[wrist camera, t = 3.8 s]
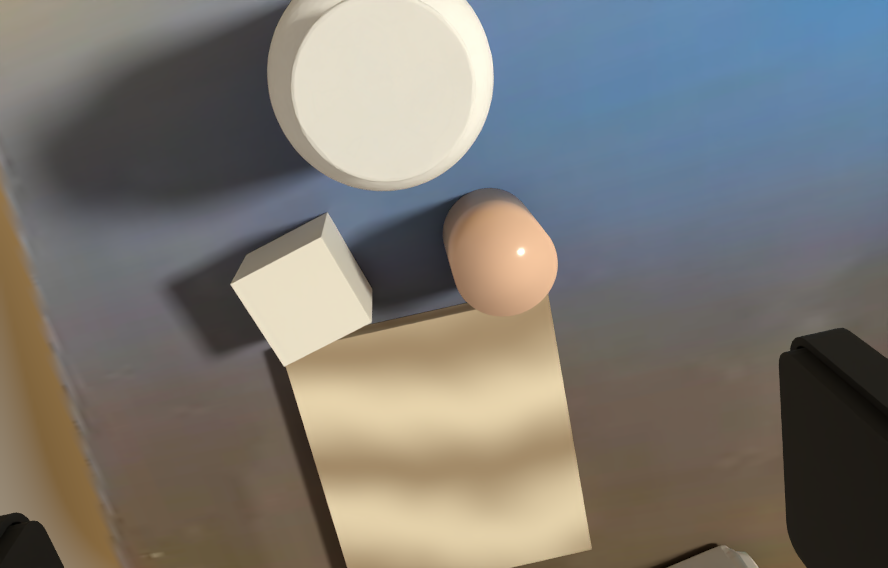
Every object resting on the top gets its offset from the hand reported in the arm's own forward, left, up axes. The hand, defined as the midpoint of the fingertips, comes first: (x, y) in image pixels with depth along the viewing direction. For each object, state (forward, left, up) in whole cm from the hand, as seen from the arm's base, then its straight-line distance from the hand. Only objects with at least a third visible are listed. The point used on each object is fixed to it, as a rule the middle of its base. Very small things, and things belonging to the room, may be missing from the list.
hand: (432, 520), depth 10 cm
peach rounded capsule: (+4, +3, -25) cm, 25 cm away
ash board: (+14, -1, -25) cm, 28 cm away
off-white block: (+4, -5, -25) cm, 25 cm away
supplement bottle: (-4, 0, -25) cm, 25 cm away
